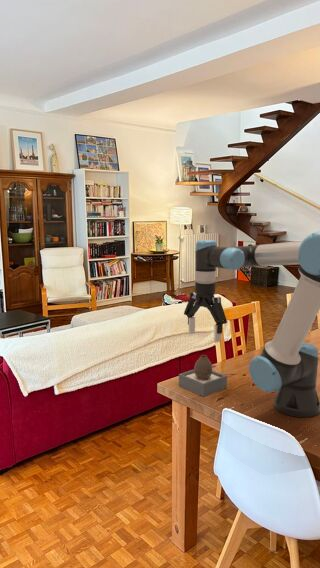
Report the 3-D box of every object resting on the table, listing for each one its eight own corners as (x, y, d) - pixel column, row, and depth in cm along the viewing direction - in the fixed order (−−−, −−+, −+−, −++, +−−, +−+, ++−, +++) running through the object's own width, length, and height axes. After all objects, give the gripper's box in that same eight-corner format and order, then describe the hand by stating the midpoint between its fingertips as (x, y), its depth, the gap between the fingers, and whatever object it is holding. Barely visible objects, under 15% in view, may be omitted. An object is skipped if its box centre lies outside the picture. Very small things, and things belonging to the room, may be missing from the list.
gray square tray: (226, 387, 166) (227, 376, 166) (203, 396, 158) (203, 384, 157) (202, 377, 176) (202, 366, 175) (178, 385, 168) (178, 374, 167)
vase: (191, 379, 165) (191, 357, 163) (198, 373, 171) (198, 352, 169) (208, 382, 162) (209, 360, 160) (214, 376, 168) (215, 354, 166)
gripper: (238, 285, 153) (236, 343, 157) (189, 277, 172) (188, 329, 176) (223, 287, 149) (222, 347, 152) (175, 279, 168) (174, 332, 171)
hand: (204, 337), depth 164 cm, fingers open, 13 cm apart
